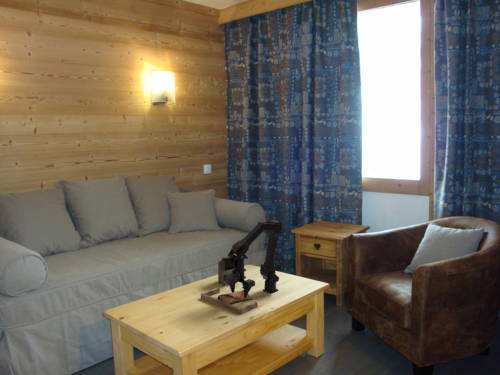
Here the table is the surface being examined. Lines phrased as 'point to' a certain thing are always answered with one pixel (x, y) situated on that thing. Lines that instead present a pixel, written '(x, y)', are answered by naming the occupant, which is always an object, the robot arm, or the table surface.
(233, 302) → the sunglasses case
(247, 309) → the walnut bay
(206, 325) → the table surface
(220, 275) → the pillar candle
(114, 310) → the table surface
